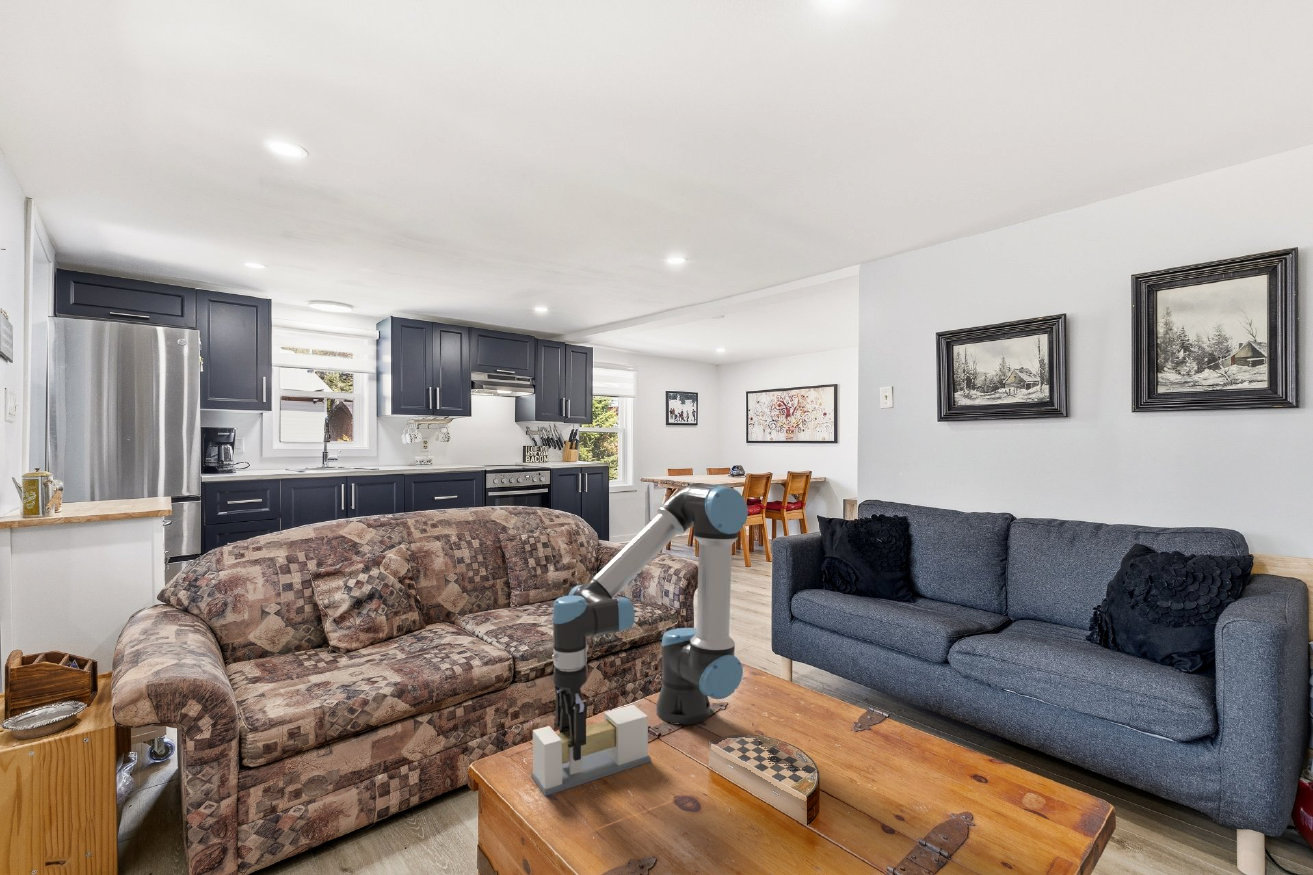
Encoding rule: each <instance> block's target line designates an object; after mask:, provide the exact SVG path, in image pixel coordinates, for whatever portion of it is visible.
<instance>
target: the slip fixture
mask: <svg viewBox="0 0 1313 875" xmlns="http://www.w3.org/2000/svg"><path fill="white" fill-rule="evenodd" d="M603 712H604V711H603ZM603 714H604V716H603V717H604V718H603V719H604V720H603V721H607V720H609V721H610V722H611V723H612V724H613V725H614V726H615V727H616V747H613V748H609V749H606V750H603V751H599V752H596V753H593V754H589V755H586V756H583V757H582V771H581V772H578V773H575V774H572V775H570V773H569V762H568V763H564V764H562V740H561V739H560V737H559V736H558V735H557V734H558V733H556V732H555V731H554V730H553V728H552V727H551V726H550V725H547V726H544V727H540V728H536V729H533V730H532V771H530V772H531V773H530V777H531V778H532V779H533V781H534V783H535V784H536V786H537V787H538V788H539V790H540V792H541V793H542V794H543V795H544V797H546V796H549V795H554V794H556V793H559V792H561V791H565V790H568V789H571V788H573V787H577V786H580V785H584V784H586V783H589V782H592V781H595V780H598V779H601V778H604V777H609V776H610V775H615V774H617V773H621V772H624V771H626V770H630V769H632V768H635V767H637V766H641V765H645V764H648V763H650V762H652V757H651V756H650V754H649V739H648V738H649V726H648V725H649V724H648V723H649V718H648V717H649V716H648V715H647V714H645V713H644V712H643V711H642V710H641V709H639V708H638V707H637V706H636V705H634V704H632V705H631V704H630V705H627V706H624V707H620V708H616V709H612V710H608V711H605V712H604V713H603Z"/></svg>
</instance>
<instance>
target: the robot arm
mask: <svg viewBox="0 0 1313 875" xmlns="http://www.w3.org/2000/svg"><path fill="white" fill-rule="evenodd" d="M656 512H657V513H656V516H654V517H653V518H652V519H651V520H650V522H648V523H647V524H646V525H645V526H644V527H643V528H642V529H641V530H640V531H639V532H638V533H637V534H636V535H635V536H634V537H633V538H632V539H631V540H630V541H629V542H628V543H627V544H626V545H624V547H623V548H622V549H620V551H618V553H617V554H616V555H615V556H614V557H613V558H612V559H610V561H609V562H607V563H606V564H605V565H604V567H602V569H600V570H599V571H598V573H596V574H595V575H594V576H592V578H591V579H590V580H589V581H588V582H587V583H585V584H580V585H576V586H574V587H572V589H571V590H570V591H569V593H568V595H565V596H560V597H558V598H556V599H555V600H554V601H553V608H552V635H553V645H552V646H553V647H552V648H553V654H552V655H551V659H553V666H554V667H553V684H554V692H555V720H556V722H555V726H556V728H558V732H559V734H560V733H563V732H567V731H570V739H571V743H570V744H568V747H569V761H566V762H563V763H562V764H564V763H568V762H569V773H570V775H572V774H575V773H578V772H581V771H582V747H581V746H582V745H586V726H587V709H588V703H587V701H582V698H583V697H582V691H581V690H582V689H581V688H582V686H583V685H585V684H586V683H587V678H588V677H587V675H588V673H587V670H588V669H587V665H586V664H587V662H588V658H587V656H588V655H587V652H588V650H587V648H588V647H587V638H591V637H595V636H602V635H608V634H613V633H620V632H623V631H626V630H630V629H631V628H632V627H633V625H634V624H635V619H636V618H635V614H636V613H635V608H634V605H633V603H632V601H631V600H630V599H629V598H628V597H617V598H615V597H616V596H617V595H618V594H619V593H621V591H622V590H623V589H624V588H625V587H626V586H627V585H628V584H629V583H630V582H631V581H632V580H633V579H634V578H635V577H636V576H637V575H638V574H640V572H641V571H642V570H643V569H644V568H646V566H647V565H648V564H649V563H650V562H651V561H652V560H653V559H654V558H655V557H656V556H657V555H658V554H659V553H660V552H661V551H662V550H664V548H665V547H666V546H667V545H668V544H669V543H670V542H671V541H672V540H673V539H674V538H675V537H676V536H677V535H679V536H682V535H684V533H685V532H686V531H687V530H688V529H690V528H692V527H693V538H695V540H696V541H697V542H698V565H697V566H698V567H697V568H698V570H697V598H696V600H697V601H696V602H697V604H696V626H695V627H681V628H679V627H678V628H674V629H670V630H667V631H666V632H664V633H663V635H662V640H661V656H662V657H661V663H662V664H661V665H662V667H661V668H662V670H661V671H662V673H661V674H662V685H661V689H660V692H659V696H658V699H657V702H656V716H657V717H658V719H660V720H662V721H663V722H666V723H668V722H672V723H679V724H683V725H682V726H688V725H689V726H690V725H696V724H699V723H702V722H704V721H706V720H707V719H708V718H710V716H711V703H710V698H711V699H714V700H722V699H723V700H724V699H726V698H728V697H729V696H731V695H733V694H734V693H735V690H737V689H738V688H739V686H740V685H741V682H742V679H743V675H744V674H743V673H744V668H743V665H742V662H741V661H740V659H739V658H738V657H736V656H735V652H736V651H735V650H736V649H735V644H736V643H735V640H734V639H733V638H732V637H731V636H730V621H731V620H730V619H731V618H730V616H731V589H732V588H731V584H732V583H731V582H732V556H733V555H732V550H733V549H732V548H733V544H734V543H735V542H736V541H737V540H738V539H739V532H740V531H741V530H742V529H743V528H744V525H745V524H746V523H747V519H748V514H749V511H748V505H747V502H746V499H745V498H744V496H743V495H742V494H741V492H739V491H738V490H736V488H735V489H734V488H733V487H729V486H726V485H721V484H711V483H710V484H707V483H702V482H701V483H700V482H695V483H691V484H690V483H689V484H688V485H686V486H684V487H683V488H681V489H679V490H678V491H677V492H675V493H674V494H672V495H671V496H669V498H668V499H667V500H666V501H664V503H662V504H661V505H660V507H658V508H657V510H656ZM709 697H710V698H709ZM672 723H671V724H672Z"/></svg>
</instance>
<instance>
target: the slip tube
mask: <svg viewBox="0 0 1313 875" xmlns="http://www.w3.org/2000/svg"><path fill="white" fill-rule="evenodd" d="M556 734H557V735H558V736H559V737H560V739H561V740H562V763H563V762H566V761H569V747H568V744H570V743H571V739H570V731H567V732H563V733H560V732H559V733H556ZM581 747H582V757H583V756H586V755H589V754H593V753H596V752H599V751H603V750H606V749H609V748H613V747H616V727H615V726H614V725H613V724H612V723H611V722H610V721H609V720H607V721H604V720H603V721H600V722H597V723H593V724H590V725H586V745H582V746H581Z"/></svg>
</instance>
